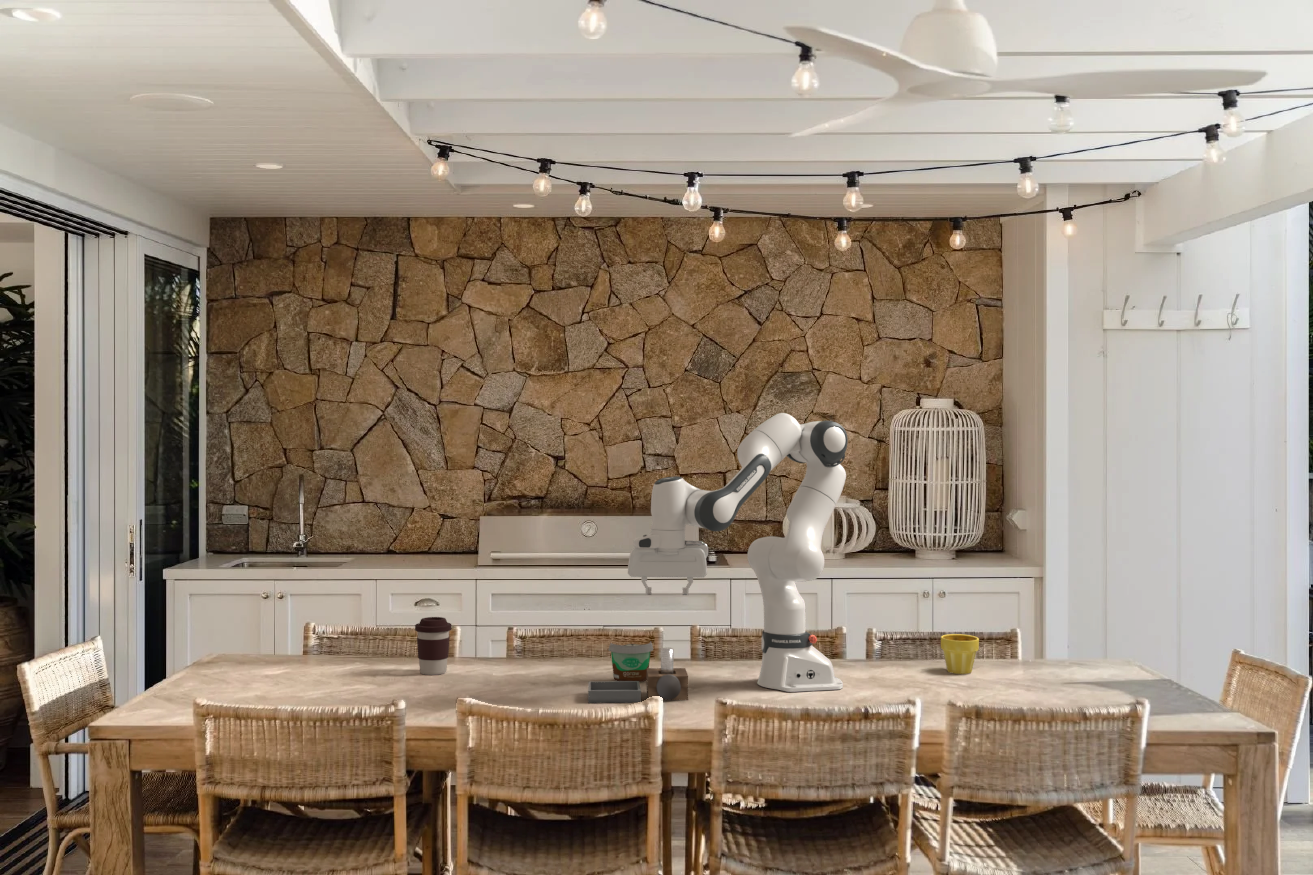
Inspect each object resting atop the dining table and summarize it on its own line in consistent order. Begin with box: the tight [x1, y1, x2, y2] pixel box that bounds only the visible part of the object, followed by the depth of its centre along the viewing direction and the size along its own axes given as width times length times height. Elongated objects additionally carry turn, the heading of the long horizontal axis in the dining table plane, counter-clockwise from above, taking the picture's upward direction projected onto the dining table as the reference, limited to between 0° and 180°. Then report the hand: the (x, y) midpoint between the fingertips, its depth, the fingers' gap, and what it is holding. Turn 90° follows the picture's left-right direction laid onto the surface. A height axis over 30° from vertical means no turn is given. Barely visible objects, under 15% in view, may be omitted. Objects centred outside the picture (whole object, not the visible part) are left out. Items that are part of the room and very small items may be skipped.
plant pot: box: [940, 633, 980, 675], centre depth 338 cm, size 10×10×10 cm
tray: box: [587, 680, 642, 704], centre depth 304 cm, size 13×11×3 cm
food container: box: [608, 640, 654, 683], centre depth 324 cm, size 12×6×10 cm, turn 105°
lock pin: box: [660, 647, 675, 674], centre depth 306 cm, size 3×3×10 cm
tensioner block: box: [646, 667, 689, 701], centre depth 305 cm, size 10×12×6 cm
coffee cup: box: [414, 616, 453, 676], centre depth 333 cm, size 10×10×15 cm
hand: (666, 594), depth 306 cm, fingers open, 8 cm apart
